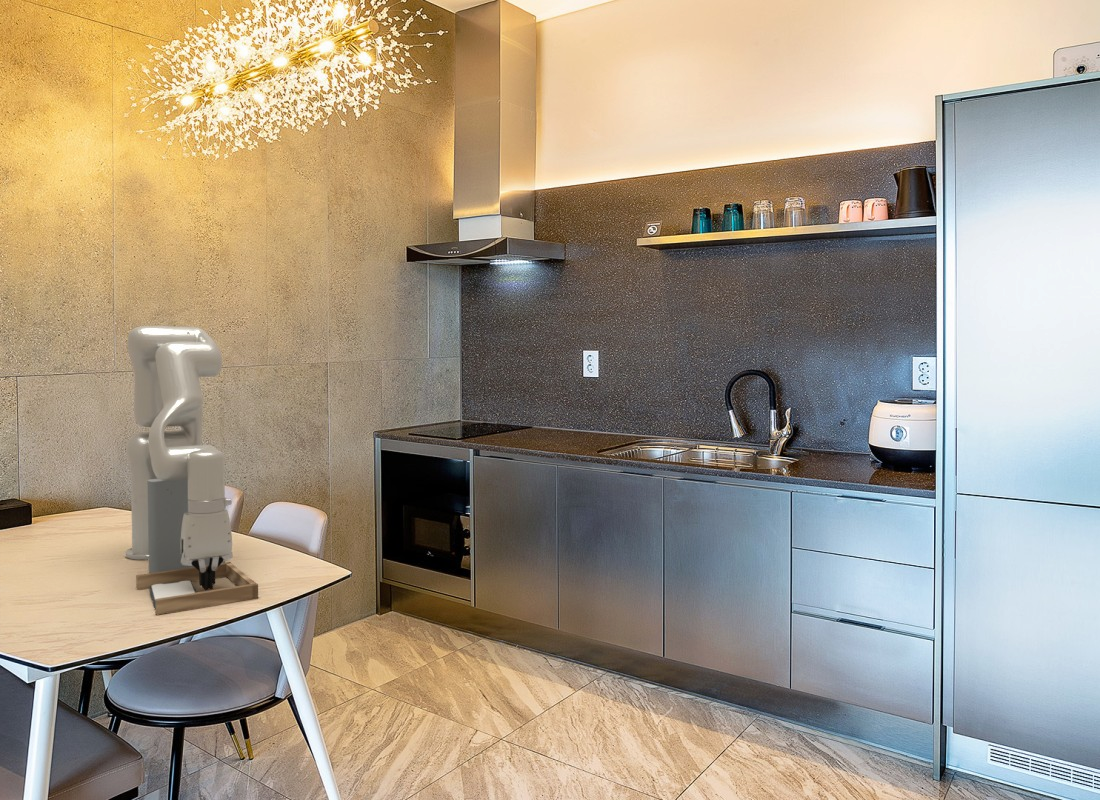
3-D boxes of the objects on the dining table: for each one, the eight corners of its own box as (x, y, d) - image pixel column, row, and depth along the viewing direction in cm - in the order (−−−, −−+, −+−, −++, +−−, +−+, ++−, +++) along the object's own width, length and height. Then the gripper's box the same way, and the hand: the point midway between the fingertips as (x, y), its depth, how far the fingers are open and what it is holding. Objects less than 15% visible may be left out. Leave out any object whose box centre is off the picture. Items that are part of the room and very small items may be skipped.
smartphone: (201, 608, 173) (192, 586, 187) (200, 600, 173) (191, 579, 187) (154, 614, 169) (148, 591, 183) (154, 606, 169) (148, 584, 182)
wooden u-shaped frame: (136, 588, 183) (136, 575, 183) (230, 574, 195) (230, 562, 195) (156, 615, 166) (156, 600, 166) (258, 598, 178) (258, 584, 178)
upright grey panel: (220, 561, 207) (219, 462, 205) (227, 565, 203) (226, 464, 201) (146, 573, 195) (144, 468, 194) (151, 577, 192) (150, 471, 190)
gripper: (236, 500, 188) (237, 578, 190) (165, 506, 179) (167, 589, 181) (246, 505, 182) (247, 586, 184) (174, 513, 173) (175, 598, 175)
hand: (207, 587), depth 182 cm, fingers closed
